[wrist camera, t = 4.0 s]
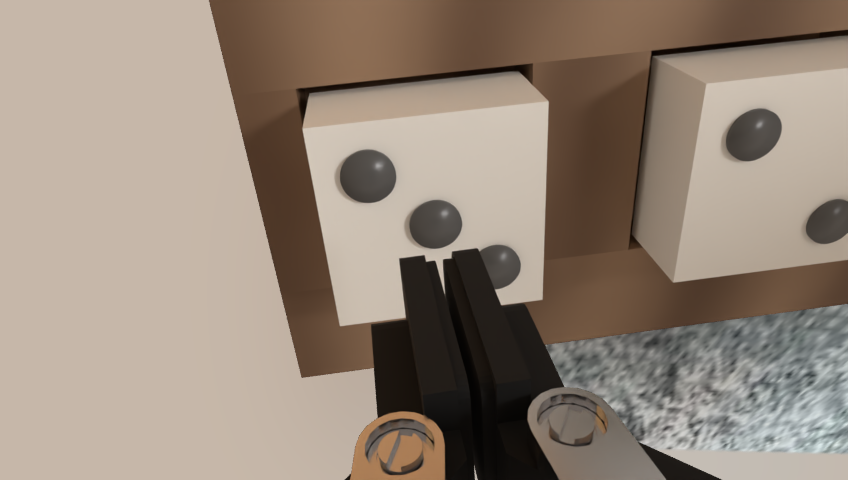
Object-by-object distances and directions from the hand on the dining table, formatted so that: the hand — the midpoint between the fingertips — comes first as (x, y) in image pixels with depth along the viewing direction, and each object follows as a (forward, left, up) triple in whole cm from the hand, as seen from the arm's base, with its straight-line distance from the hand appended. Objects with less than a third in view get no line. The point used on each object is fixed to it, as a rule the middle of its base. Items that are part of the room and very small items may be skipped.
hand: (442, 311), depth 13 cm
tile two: (-10, 0, -7) cm, 12 cm away
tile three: (0, 0, -7) cm, 7 cm away
